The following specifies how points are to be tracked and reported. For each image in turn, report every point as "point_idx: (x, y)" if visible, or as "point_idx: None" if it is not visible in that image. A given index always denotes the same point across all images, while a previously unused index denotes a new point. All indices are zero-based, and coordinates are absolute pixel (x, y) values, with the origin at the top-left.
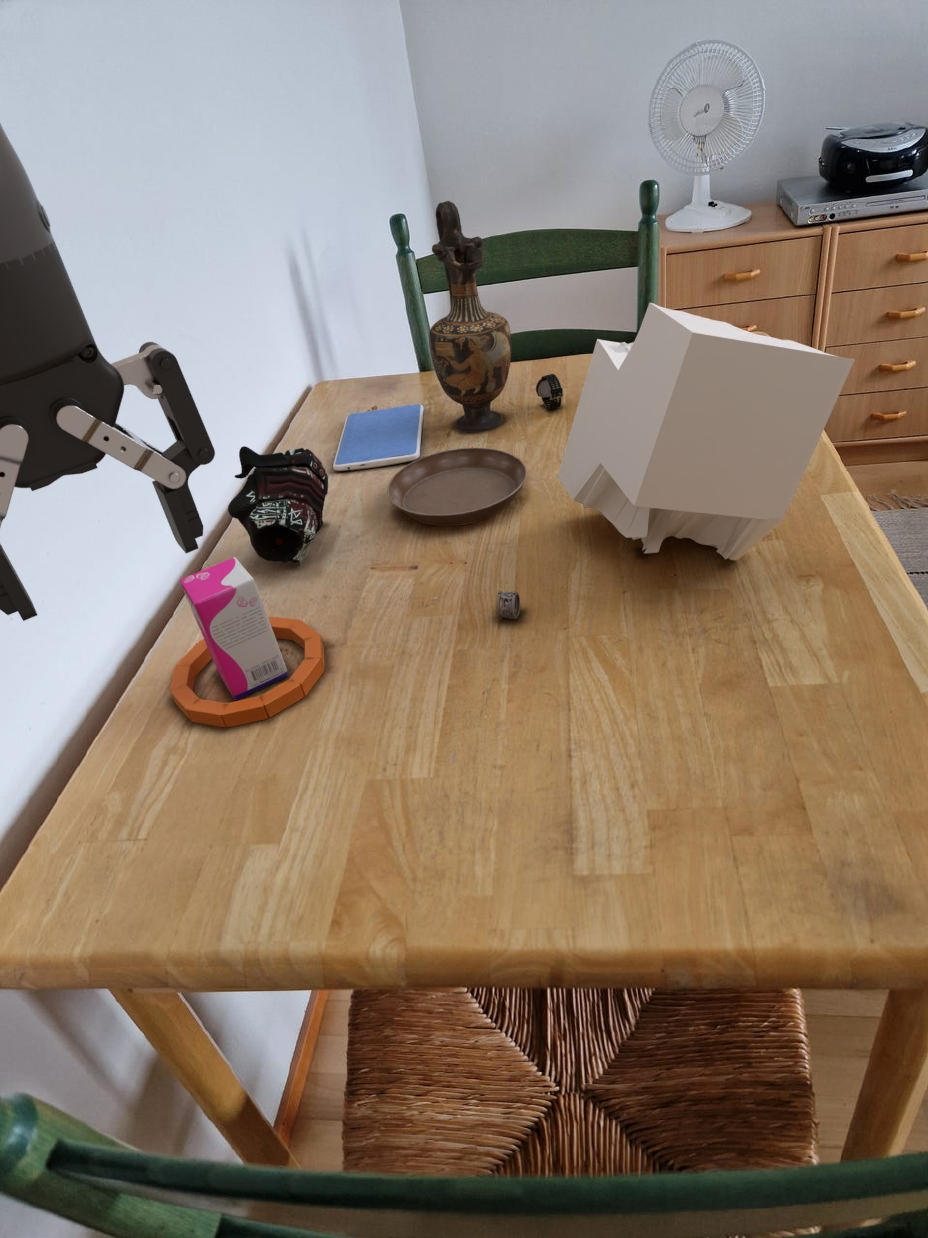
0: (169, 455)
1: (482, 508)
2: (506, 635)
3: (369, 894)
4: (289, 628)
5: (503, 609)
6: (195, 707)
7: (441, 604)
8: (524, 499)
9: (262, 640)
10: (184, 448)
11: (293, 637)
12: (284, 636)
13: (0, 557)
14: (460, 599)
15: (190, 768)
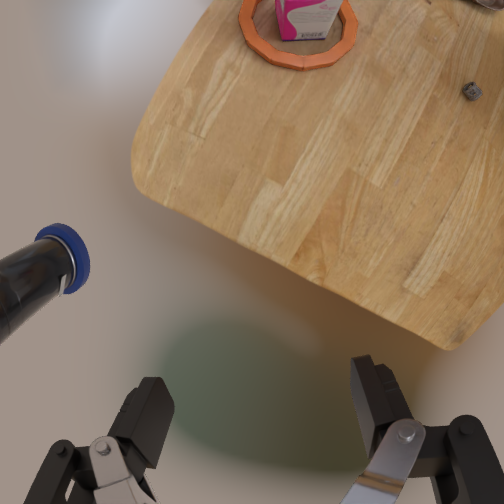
0: (413, 471)
1: (482, 4)
2: (460, 105)
3: (318, 247)
4: None
5: (470, 95)
6: (253, 42)
7: (437, 47)
8: None
9: (322, 24)
10: (433, 475)
11: None
12: None
13: (150, 467)
14: (448, 52)
15: (240, 89)
